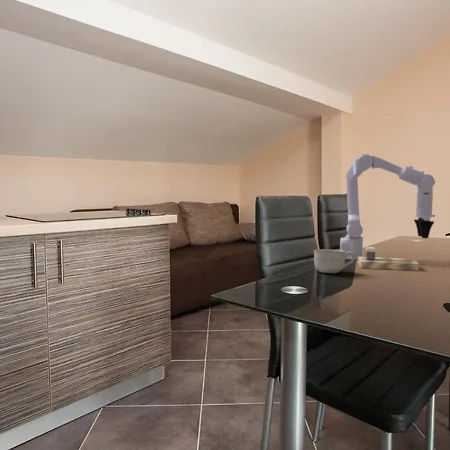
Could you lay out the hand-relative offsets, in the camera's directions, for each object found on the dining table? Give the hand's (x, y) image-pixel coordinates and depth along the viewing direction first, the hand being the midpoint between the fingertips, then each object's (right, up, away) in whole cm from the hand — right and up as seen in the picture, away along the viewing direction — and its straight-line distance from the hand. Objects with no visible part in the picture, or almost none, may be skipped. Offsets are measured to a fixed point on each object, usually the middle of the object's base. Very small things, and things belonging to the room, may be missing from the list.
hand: (422, 237), depth 165 cm
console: (-19, -11, -11) cm, 25 cm away
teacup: (-43, -12, -23) cm, 50 cm away
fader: (-25, -8, -10) cm, 28 cm away
